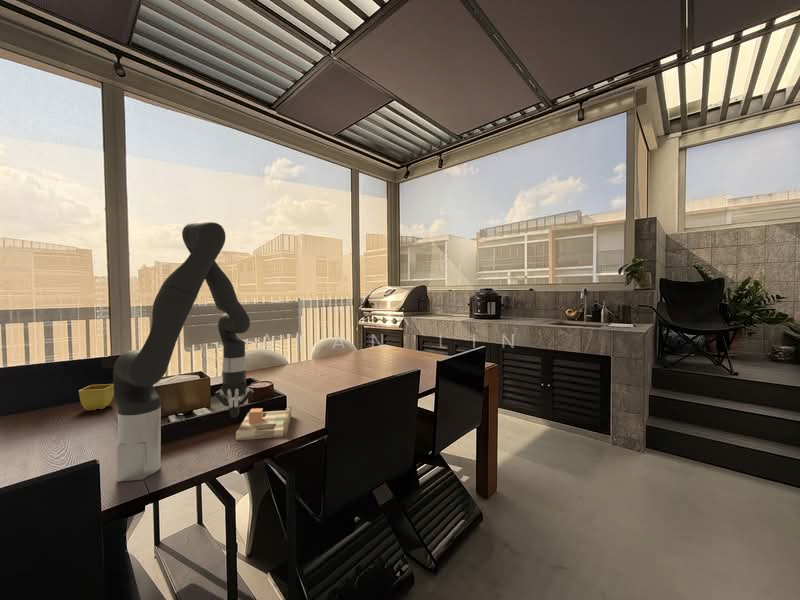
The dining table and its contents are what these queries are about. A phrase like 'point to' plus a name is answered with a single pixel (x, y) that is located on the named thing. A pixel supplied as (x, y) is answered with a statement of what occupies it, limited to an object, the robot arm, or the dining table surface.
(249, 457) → the dining table surface
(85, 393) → the flower pot
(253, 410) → the block
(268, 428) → the board
